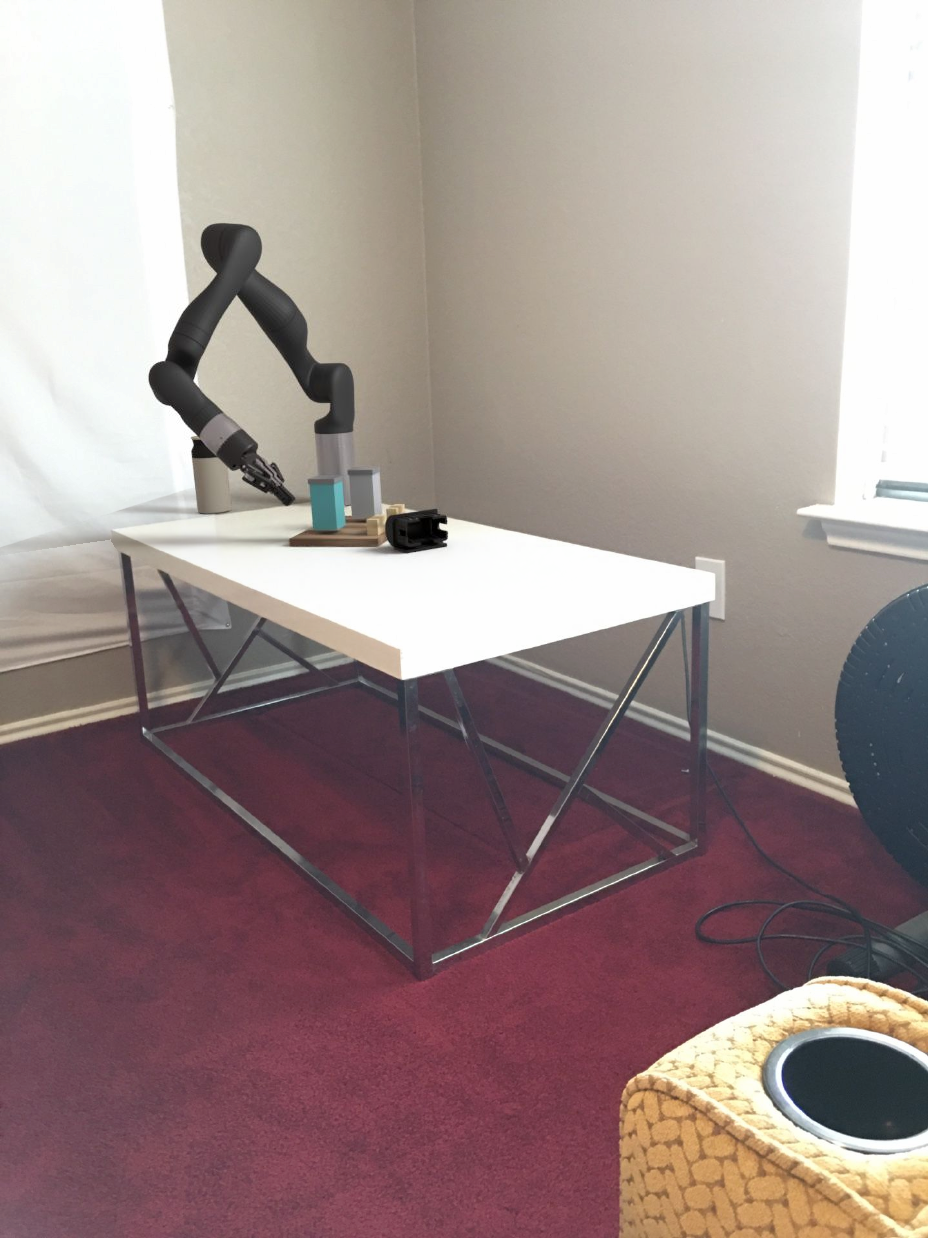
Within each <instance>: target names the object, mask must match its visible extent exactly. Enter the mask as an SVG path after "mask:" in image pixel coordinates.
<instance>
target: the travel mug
mask: <svg viewBox="0 0 928 1238" xmlns="http://www.w3.org/2000/svg"><path fill="white" fill-rule="evenodd" d="M190 439H191V441H192V444H193V445H192V449H191V450H190V453H191V461H192V462H191V463H192V469H193V470H192V471H193V480H194V489H195V498H196V507H197V512H198V513H200V514H203V515H216V514H217V515H218V514H224V513H225V514H226V513H228V512H230V511H231V510H232V507H233V506H232V496H231V489H230V479H229V470H228V469H229V468H228V467H227V466H226V465H225V464H224V463H223V462H222V461H221V460H220V459H219V458H218V457H217V456H216V455H215V454H214V453H213V452H212V451H211V450H210V449H209V448H208V447H207V446H206V445H205V444H204V443H203V441H202V440H201V439H200V438H199V437H198V436H197V435H192V436H190Z"/></svg>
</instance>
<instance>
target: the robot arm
mask: <svg viewBox="0 0 928 1238" xmlns="http://www.w3.org/2000/svg"><path fill="white" fill-rule="evenodd" d="M200 248H201V252H202V254H203V257H204V259H205V261H206V262H207V264H208V265H209V266H210V268H212V269H213V271H214V272H215V273H216V275H214V277H213V279H212V280H211V281H210V282H209V283H208V285H207V286H206V287H205V288H204V289H203V290H202V291H201V292H200V293H199V294H198V295H197V296H196V297H194V299H193V300H192V301H191V302H190V303H189V304H188V305H187V306H186V307H185V308H184V310H183V311H182V313H181V315H180V316H179V318H178V320H177V322H176V324H175V326H174V328H173V331H172V333H171V334H170V338H169V339H168V342H167V354H166V357H165V359H164V360H161V361H158V362H156V363H155V364H153V365H152V366H151V367H150V369H149V372H148V377H147V379H148V384H149V387H150V389H151V391H152V394H153V395H154V397H155V398H156V400H157V401H158V402H160V403H161V404H162V405H165V406H168V407H171V408H172V409H173V410H174V411H175V412H176V413H177V414H178V415H179V416H180V418H181V420H182V422H183V423H184V424H185V425H186V426H187V427H188V428H189V429H190V430H191V432H193V433H194V434H195V436H198V437H199V438H200V439H201V440H202V441H203V443H204V444H205V445H206V446H207V447H208V448H209V449H210V450H211V451H212V452H213V453H214V454H215V455H216V456H217V457H218V458H219V459H220V460H221V461H222V462H223V463H224V464H225V465H226V466H227V467H228V469H229V470H230V471H233V472H236V471H238V470H239V471H241V472H242V473H243V474H244V475H243V476H242V478H241V480H242V481H243V482H245V483H246V484H248V485H250V486H252V487H254V488H255V489H257V490H259V491H261V492H262V493H264V494H268V493H269V494H270V495H274V496H275V497H276V498H277V500H279V502H281V503H282V504H283V505H284V506H285V507H289V506H291V505H292V504H293V503H294V502H295V501H296V497H295V495H293V494H292V493H291V492H290V490H288V489H287V488H286V487H285V486H284V482H286V481H285V478H284V475H283V474H282V473H281V471H280V469H279V466H278V465H277V463H275V462H274V461H272V462H271V463H269V462H268V461H267V460H266V459H265V458H264V457H262V456H261V455H259V454H258V453H257V451H258V449H259V444H258V442H257V441H256V440H254V439H253V438H252V436H251V435H250V434H248V433H247V431H246V430H245V429H244V428H243V427H241V426H240V425H239V424H238V423H237V422H236V421H235V420H234V419H233V418H231V417H230V415H229V416H228V415H227V414H226V413H225V412H224V411H223V410H222V409H221V408H220V407H219V406H218V405H217V404H216V403H215V402H214V401H212V399H210V398H209V397H208V396H207V395H206V394H205V393H204V392H203V391H202V390H201V388H200V387H199V386H198V384H197V383H196V382H195V378H196V374H197V371H198V368H199V364H200V362H201V359H202V357H203V355H204V354H205V352H206V349H207V348H208V346H209V343H210V341H211V339H212V336H213V334H214V333H215V330H216V329H217V326H218V325H219V323H220V321H221V319H222V318H223V316H224V314H225V313H226V311H227V310H228V308H229V307H230V305H231V304H232V302H233V301H234V299H235V298H236V297H237V298H238V299H239V300H240V302H241V303H242V305H243V306H244V307H245V308H246V310H247V312H248V313H250V315H251V316H252V317H253V319H254V320H255V322H256V323H257V324H258V326H259V328H260V329H261V331H262V332H263V333H264V334H265V335H266V337H267V338H268V340H269V341H270V342H271V343H272V345H273V346H274V347H275V348H276V350H277V351H278V353H279V354H280V355H281V357H282V358H283V360H284V361H285V362H286V364H287V365H288V367H289V368H290V370H291V371H292V374H293V375H294V377H295V379H296V381H297V383H299V386H300V387H301V389H302V391H303V392H304V394H305V395H306V397H307V398H308V399H309V400H310V401H312V402H314V403H316V404H329V411H328V412H327V414H326V415H325V416H323V417H321V418H318V419H316V420H315V421H314V423H313V429H314V441H315V442H314V443H315V451H316V453H315V454H316V465H317V466H316V467H317V475H343V479H344V480H343V481H342V483H343V497H344V507H346V506H351V497H350V483H349V475H348V472H347V470H349V469H352V468H354V467H357V462H356V461H357V460H356V450H355V449H356V448H355V434H354V422H355V414H356V411H355V410H356V409H355V407H356V406H355V380H354V375H353V372H352V370H351V368H350V366H349V365H347V364H346V363H343V362H327V363H326V362H324V363H322V362H321V363H320V362H318V361H317V360H316V359H315V358H314V356H313V355H312V354H311V352H310V351H309V349H308V346H307V345H308V333H309V332H308V331H309V330H308V323H307V320H306V318H305V316H304V315H303V312H302V311H301V310H300V309H299V307H298V305H296V303H295V301H294V300H293V299H292V297H290V295H288V293H286V292H285V291H284V290H283V289H281V288H280V287H279V286H278V285H276V284H275V283H273V282H272V281H271V280H269V279H268V278H266V277H265V275H262V274H261V273H260V272H259V271H258V270H257V269H256V267H257V266H258V264H259V262H260V259H261V256H262V253H263V243H262V240H261V236H260V234H259V233H258V231H257V230H256V229H255V228H254V227H252V226H250V225H248V224H247V225H246V224H243V223H242V224H241V223H229V222H228V223H227V222H218V223H211V224H209V225H208V226H206V227H205V228H204V229H203V230H202V233H201V236H200Z"/></svg>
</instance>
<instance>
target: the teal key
mask: <svg viewBox="0 0 928 1238" xmlns="http://www.w3.org/2000/svg"><path fill="white" fill-rule="evenodd" d="M343 480H344V479H343V475H318V474H317V475H315V476H312V477H309V478H308V479H307V484H308V485H309V495H310V508H311V518H312V519H311V521H312V527H313V530H338V529H340V528H341V527H343V526H345V525H346V524H345V516H346V515H345V514H346V513H345V512H346V511H345V506H344V497H343V483H342V481H343Z"/></svg>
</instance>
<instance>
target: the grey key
mask: <svg viewBox="0 0 928 1238" xmlns="http://www.w3.org/2000/svg"><path fill="white" fill-rule="evenodd" d="M347 472H348V475H349V483H350V497H351V505H350V506H351V507H350V509H351V516H352V518H371V517H373V516H374V515H383V505H382V492H381V491H382V489H381V488H382V487H381V475H380V472H381V466H356V467H354V468H352V469H349V470H347Z"/></svg>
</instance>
